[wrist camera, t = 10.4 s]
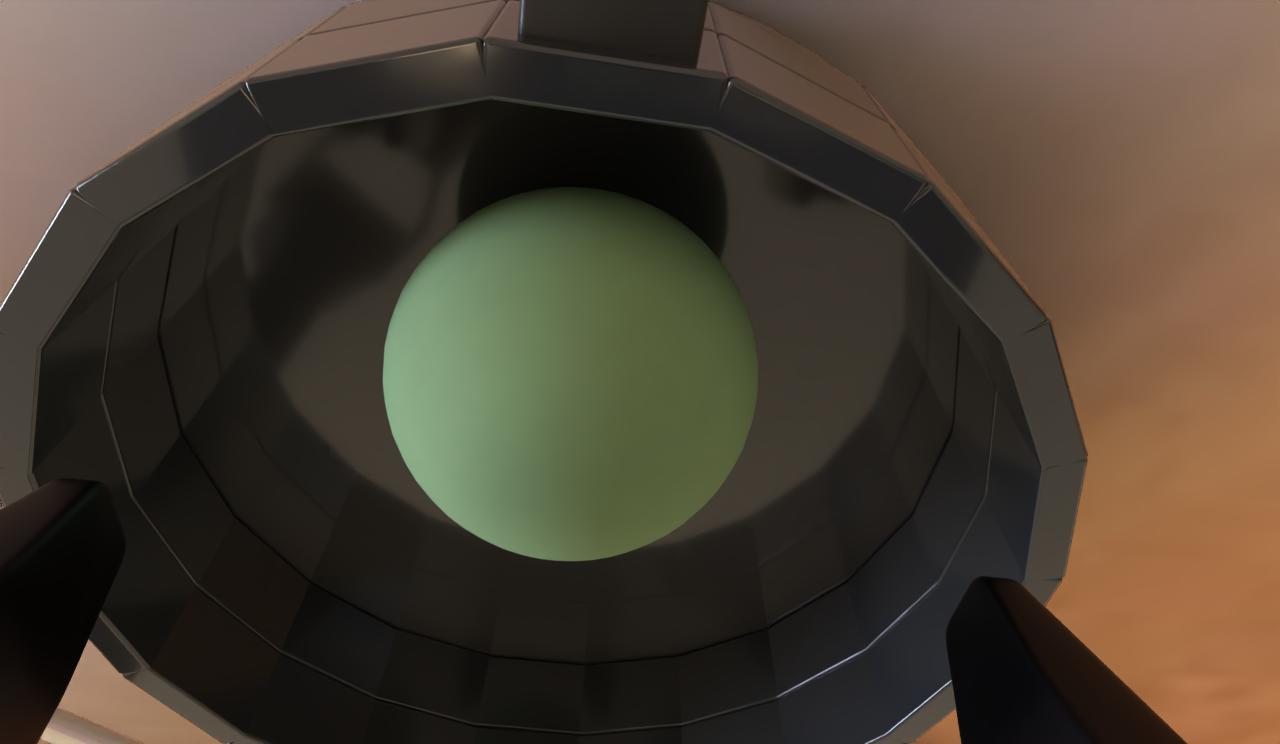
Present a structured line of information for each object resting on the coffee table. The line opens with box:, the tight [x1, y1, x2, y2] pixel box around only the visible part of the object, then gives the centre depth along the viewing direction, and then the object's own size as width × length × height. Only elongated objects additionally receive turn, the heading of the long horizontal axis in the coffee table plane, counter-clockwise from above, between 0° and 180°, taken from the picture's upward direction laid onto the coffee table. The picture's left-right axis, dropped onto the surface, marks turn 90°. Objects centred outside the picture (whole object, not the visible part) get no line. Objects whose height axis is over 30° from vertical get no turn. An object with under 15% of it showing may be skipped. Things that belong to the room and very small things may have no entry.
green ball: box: [383, 187, 758, 561], centre depth 11 cm, size 5×5×5 cm
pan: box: [0, 0, 1088, 744], centre depth 14 cm, size 15×15×4 cm
